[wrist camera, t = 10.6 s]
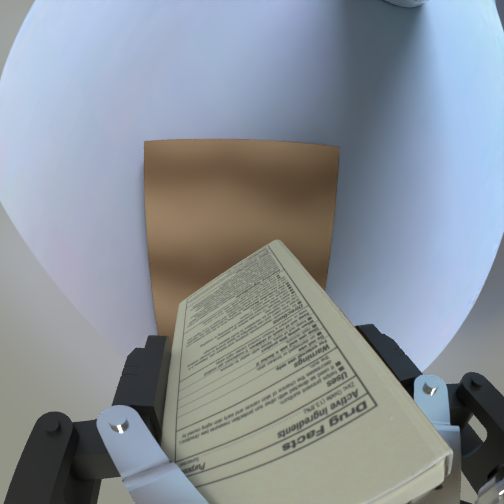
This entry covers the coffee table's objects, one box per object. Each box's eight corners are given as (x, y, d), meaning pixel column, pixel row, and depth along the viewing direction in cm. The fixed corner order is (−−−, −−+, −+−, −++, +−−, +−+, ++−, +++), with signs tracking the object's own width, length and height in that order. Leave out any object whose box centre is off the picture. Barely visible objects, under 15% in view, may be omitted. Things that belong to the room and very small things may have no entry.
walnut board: (151, 142, 17) (144, 141, 15) (327, 146, 19) (339, 146, 17) (166, 347, 22) (163, 362, 21) (306, 341, 24) (313, 355, 22)
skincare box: (224, 354, 16) (250, 569, 4) (176, 300, 14) (141, 554, 3) (322, 296, 15) (452, 491, 4) (283, 231, 14) (460, 457, 2)
